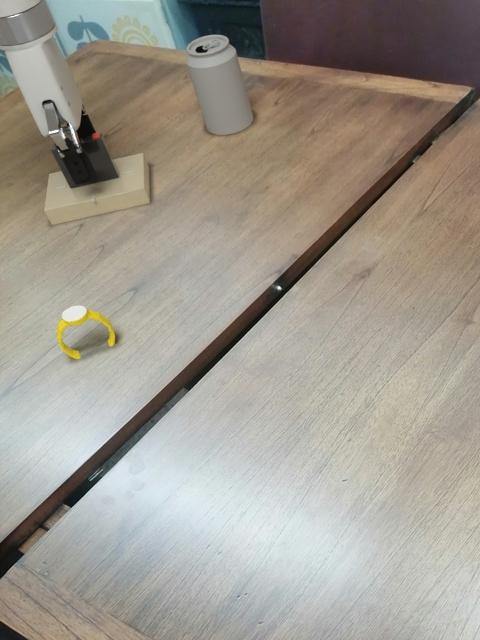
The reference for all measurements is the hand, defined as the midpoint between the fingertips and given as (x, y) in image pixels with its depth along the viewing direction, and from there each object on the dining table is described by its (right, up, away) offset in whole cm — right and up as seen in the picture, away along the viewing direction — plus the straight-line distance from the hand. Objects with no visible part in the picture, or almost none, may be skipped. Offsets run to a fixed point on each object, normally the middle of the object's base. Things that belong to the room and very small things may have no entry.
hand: (88, 163), depth 96 cm
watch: (+7, -30, -15) cm, 35 cm away
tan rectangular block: (0, -3, +4) cm, 5 cm away
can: (+17, +12, +13) cm, 24 cm away
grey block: (0, -1, +2) cm, 2 cm away
